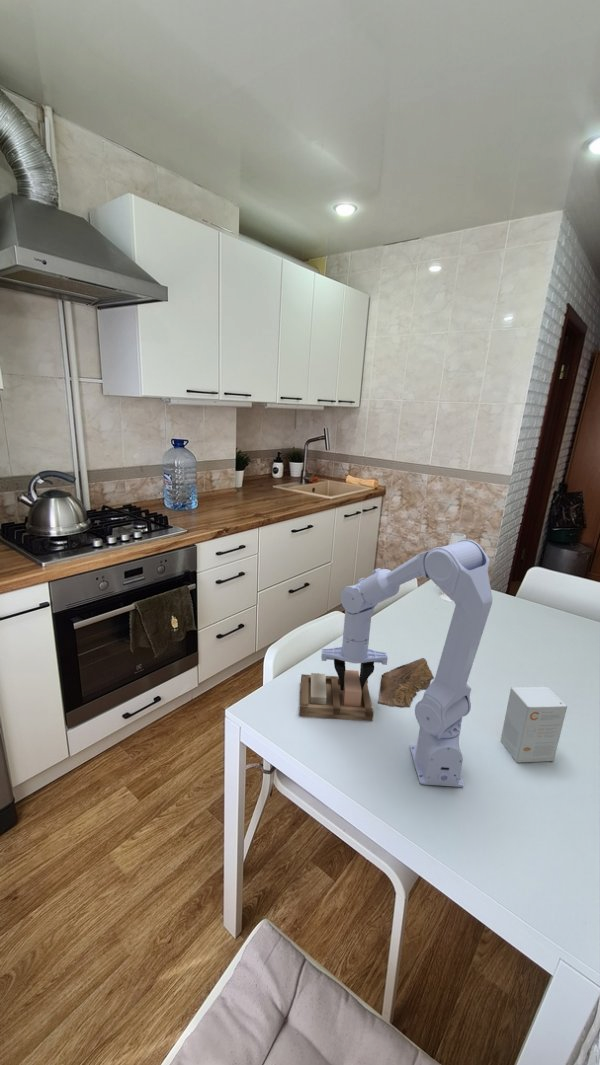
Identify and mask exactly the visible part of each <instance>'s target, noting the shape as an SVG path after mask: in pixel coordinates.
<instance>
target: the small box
mask: <svg viewBox="0 0 600 1065" xmlns="http://www.w3.org/2000/svg"><path fill="white" fill-rule="evenodd" d="M567 709H568V705H567V704H566V703H565V702H564V701H563V700H562V699H561V698H560V697H559V696H558V695H556V693H555V692H553V690H552V689H550V688H549V687H548V686H522V687H520V686H519V687H518V686H516V687H513V686H512V687H511V688H510V692H509V696H508V701H507V707H506V711H505V716H504V720H503V726H502V731H501V736H500V742H501V744H502V745H503V746H504V748H506V750H507V751H508V753H509V754H510V756H511V757H512V758H513V760H514V762H516V763H534V762H535V763H537V762H538V763H539V762H542V763H543V762H554V761H555V757H556V753H557V750H558V746H559V741H560V737H561V732H562V729H563V726H564V721H565V717H566V713H567Z"/></svg>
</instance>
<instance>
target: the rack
mask: <svg viewBox="0 0 600 1065" xmlns="http://www.w3.org/2000/svg"><path fill="white" fill-rule="evenodd" d="M368 680H369V678H368V679H367V681H366V683H365V685H364V687H363V690H362V695H361V705H360V707H345V706H343V700H342V690H340V680H339V677H338V675H337V676H336V675H334V676H333V675H326V673H313V672H311V673H310V674H301V676H300V692H299V693H300V695H299V697H300V698H299V717H304V718H306V717H307V718H318V719H319V718H320V719H336V720H348V721H349V720H352V721H353V720H354V721H364V722H365V721H367V722H368V721H369V722H373V721H374V713H375V712H374V711H375V710H374V708H373V706H372V702H371V695H370V691H369V685H368V682H369V681H368Z"/></svg>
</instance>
